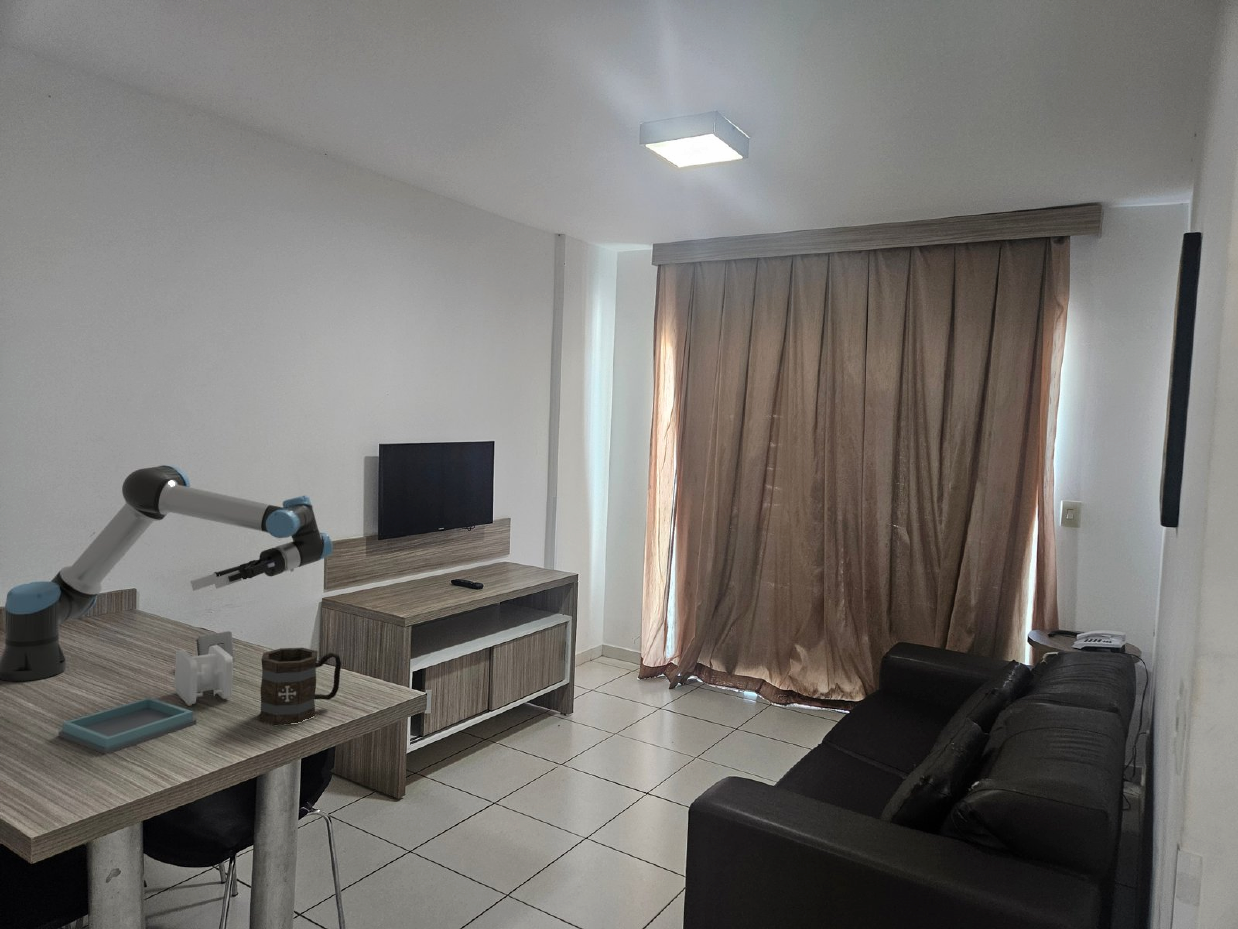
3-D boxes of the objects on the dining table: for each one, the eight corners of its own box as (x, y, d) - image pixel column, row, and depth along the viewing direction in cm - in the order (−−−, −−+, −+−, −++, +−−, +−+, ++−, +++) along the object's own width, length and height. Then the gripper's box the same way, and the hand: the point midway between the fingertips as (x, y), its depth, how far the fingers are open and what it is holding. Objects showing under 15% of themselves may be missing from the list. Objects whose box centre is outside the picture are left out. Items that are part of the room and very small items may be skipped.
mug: (268, 730, 189) (271, 667, 189) (249, 712, 199) (252, 652, 199) (350, 713, 202) (352, 654, 202) (328, 697, 213) (330, 641, 212)
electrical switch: (201, 670, 228) (201, 637, 228) (193, 667, 231) (193, 635, 231) (235, 663, 235) (234, 631, 235) (226, 661, 238) (226, 629, 238)
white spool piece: (172, 692, 210) (173, 647, 209) (216, 684, 217) (217, 642, 216) (188, 709, 199) (190, 663, 198) (234, 701, 206) (235, 656, 205)
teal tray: (58, 736, 179) (58, 723, 179) (150, 708, 198) (150, 696, 198) (105, 754, 172) (105, 740, 171) (196, 723, 190) (196, 711, 190)
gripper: (305, 570, 220) (229, 596, 203) (261, 575, 236) (187, 600, 219) (298, 543, 219) (221, 568, 203) (253, 550, 235) (179, 573, 219)
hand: (203, 584), depth 211 cm, fingers open, 13 cm apart
